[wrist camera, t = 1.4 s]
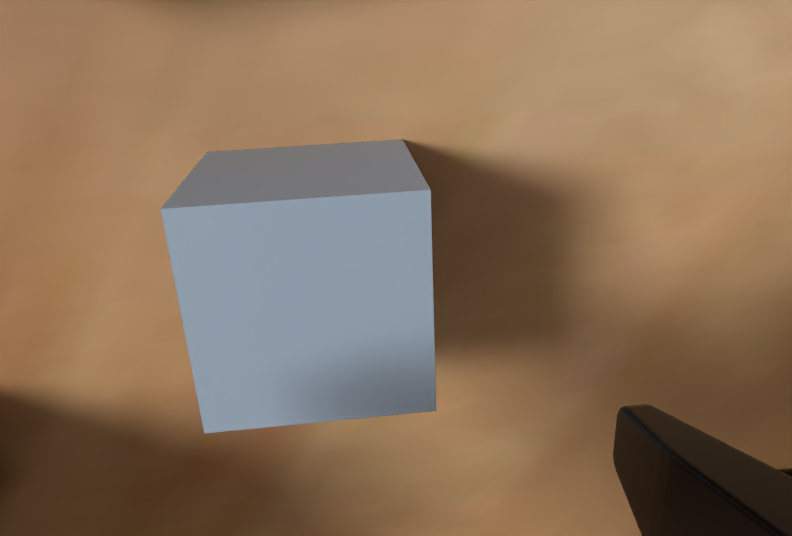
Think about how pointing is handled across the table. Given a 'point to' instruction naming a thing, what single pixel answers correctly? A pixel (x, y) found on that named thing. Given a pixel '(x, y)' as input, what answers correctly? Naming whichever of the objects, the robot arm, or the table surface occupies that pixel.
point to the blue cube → (305, 283)
